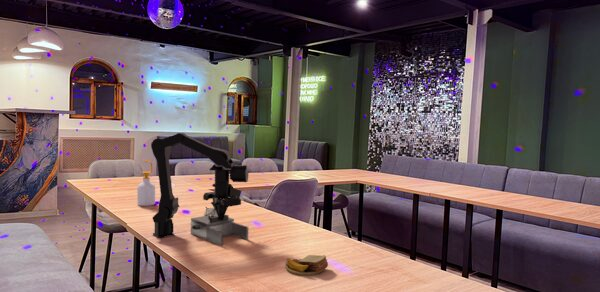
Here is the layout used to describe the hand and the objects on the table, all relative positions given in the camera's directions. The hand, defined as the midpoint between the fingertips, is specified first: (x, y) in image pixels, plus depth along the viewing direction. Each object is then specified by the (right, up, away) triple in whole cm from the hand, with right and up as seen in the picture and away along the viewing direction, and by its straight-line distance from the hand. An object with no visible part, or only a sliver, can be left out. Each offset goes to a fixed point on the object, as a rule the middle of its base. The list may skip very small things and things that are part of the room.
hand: (221, 219), depth 168 cm
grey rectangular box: (-1, -7, +2) cm, 7 cm away
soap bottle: (-53, -2, +60) cm, 80 cm away
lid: (-5, -1, +5) cm, 7 cm away
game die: (-8, -6, +21) cm, 24 cm away
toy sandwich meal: (+34, -11, -33) cm, 48 cm away
